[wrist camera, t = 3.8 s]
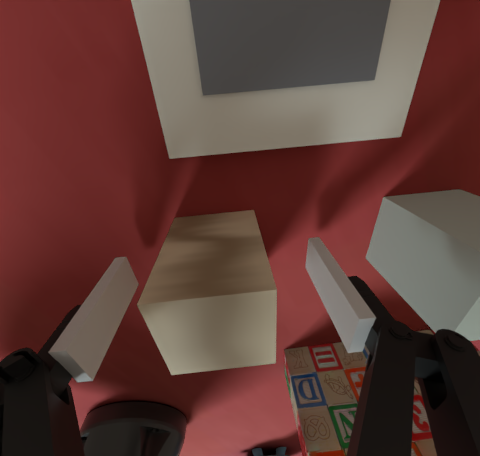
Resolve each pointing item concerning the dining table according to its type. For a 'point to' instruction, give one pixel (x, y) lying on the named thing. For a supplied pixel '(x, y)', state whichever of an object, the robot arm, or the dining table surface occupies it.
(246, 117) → the white square base plate
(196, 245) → the beech block
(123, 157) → the dining table surface
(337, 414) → the stack of blocks
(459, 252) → the sage block
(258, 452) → the teapot
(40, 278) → the dining table surface
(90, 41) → the dining table surface
